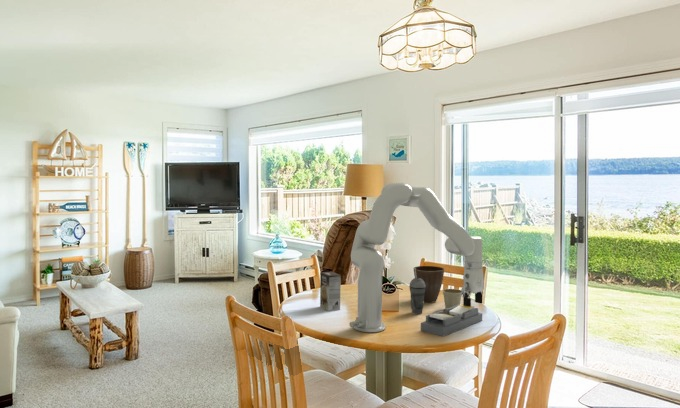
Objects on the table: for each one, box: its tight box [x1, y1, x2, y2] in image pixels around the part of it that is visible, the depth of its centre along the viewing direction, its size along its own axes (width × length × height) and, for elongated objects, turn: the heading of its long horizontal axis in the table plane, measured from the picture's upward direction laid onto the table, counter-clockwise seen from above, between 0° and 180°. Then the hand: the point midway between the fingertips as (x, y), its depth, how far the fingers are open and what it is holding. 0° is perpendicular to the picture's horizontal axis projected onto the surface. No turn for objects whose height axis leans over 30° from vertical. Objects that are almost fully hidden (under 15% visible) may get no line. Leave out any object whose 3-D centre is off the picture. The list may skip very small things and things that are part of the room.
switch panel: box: [420, 305, 483, 337], centre depth 184 cm, size 30×10×5 cm, turn 135°
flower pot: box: [441, 288, 463, 309], centre depth 208 cm, size 9×9×9 cm
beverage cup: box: [408, 267, 426, 315], centre depth 203 cm, size 7×7×20 cm
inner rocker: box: [429, 313, 453, 320], centre depth 179 cm, size 10×6×1 cm, turn 135°
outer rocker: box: [449, 303, 476, 317], centre depth 189 cm, size 10×6×1 cm, turn 135°
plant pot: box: [412, 265, 445, 303], centre depth 225 cm, size 15×15×16 cm
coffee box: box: [319, 271, 342, 312], centre depth 209 cm, size 9×6×16 cm
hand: (472, 304), depth 196 cm, fingers open, 9 cm apart
